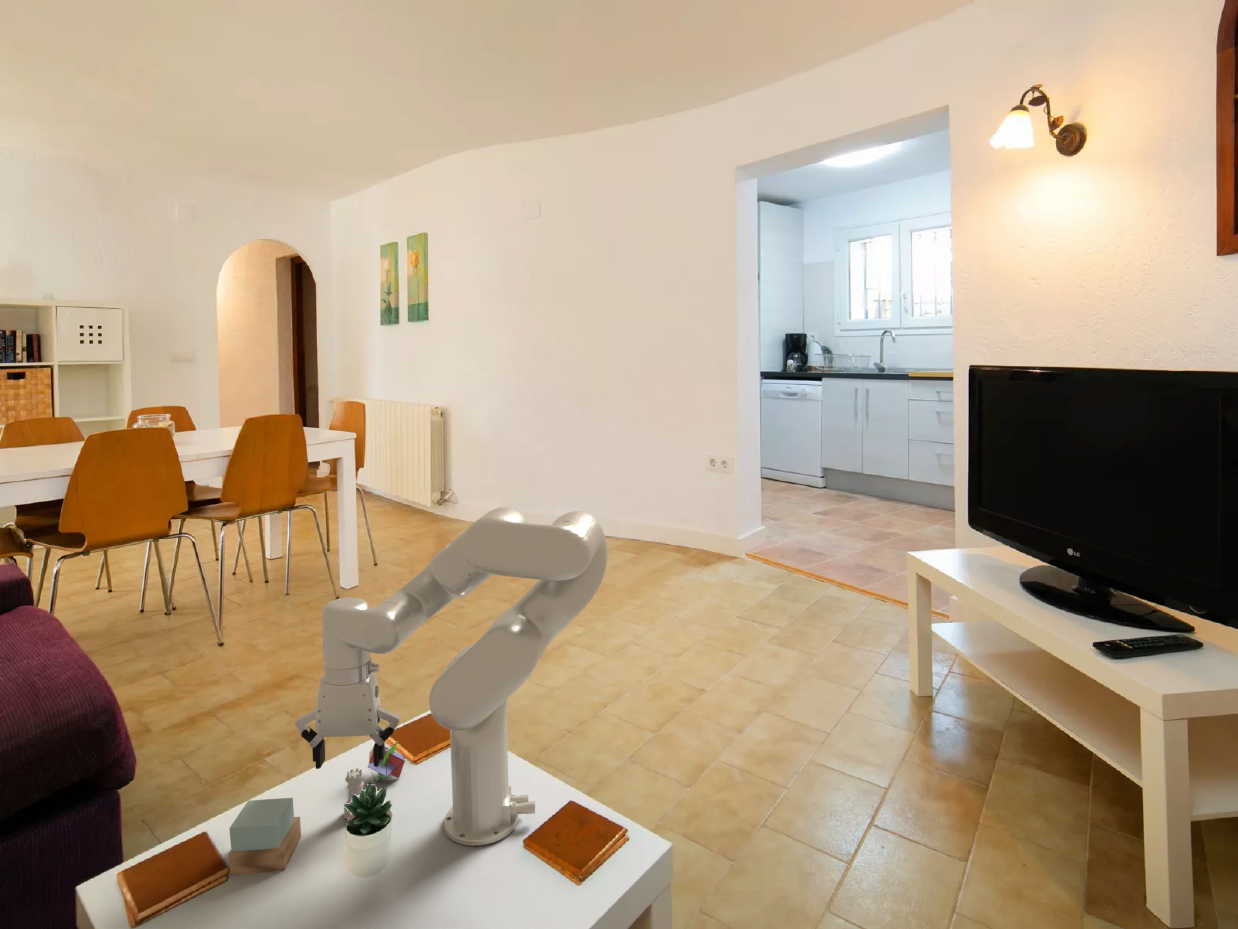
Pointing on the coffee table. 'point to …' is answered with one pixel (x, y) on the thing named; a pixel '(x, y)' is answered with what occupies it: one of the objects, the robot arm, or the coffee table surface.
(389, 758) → the geometric puzzle
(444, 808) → the coffee table surface
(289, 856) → the tower base
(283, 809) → the tower top
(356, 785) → the rook chess piece
